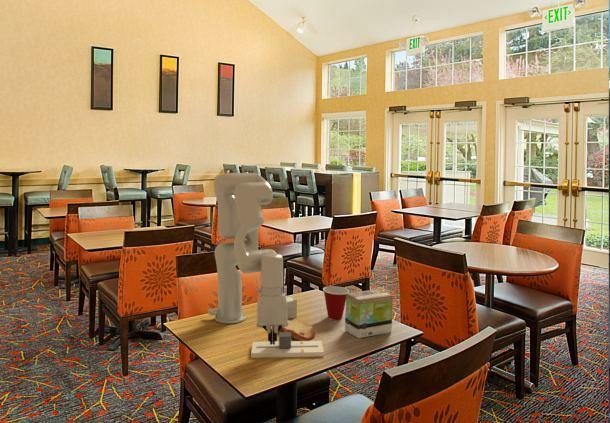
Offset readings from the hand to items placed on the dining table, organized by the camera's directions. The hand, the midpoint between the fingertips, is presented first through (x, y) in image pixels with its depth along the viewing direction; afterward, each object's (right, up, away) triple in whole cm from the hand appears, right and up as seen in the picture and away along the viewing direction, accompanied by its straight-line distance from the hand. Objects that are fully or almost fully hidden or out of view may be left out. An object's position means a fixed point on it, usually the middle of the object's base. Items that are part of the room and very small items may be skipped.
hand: (272, 343), depth 170 cm
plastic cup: (+24, +1, +35) cm, 42 cm away
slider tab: (+4, -1, 0) cm, 4 cm away
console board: (+5, -3, +1) cm, 6 cm away
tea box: (+35, -1, +19) cm, 40 cm away
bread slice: (+6, -1, +19) cm, 20 cm away
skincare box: (+4, +1, +36) cm, 37 cm away
